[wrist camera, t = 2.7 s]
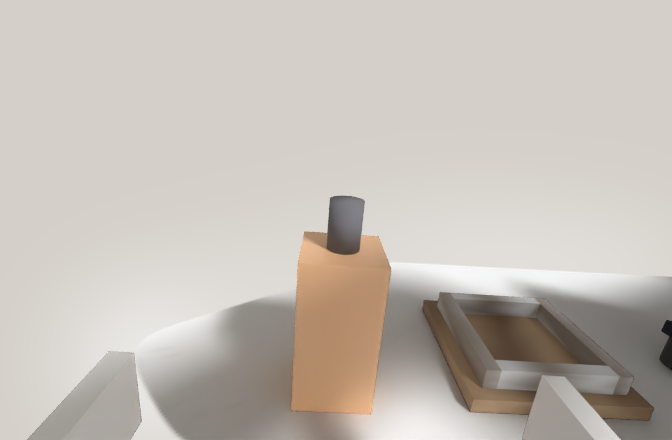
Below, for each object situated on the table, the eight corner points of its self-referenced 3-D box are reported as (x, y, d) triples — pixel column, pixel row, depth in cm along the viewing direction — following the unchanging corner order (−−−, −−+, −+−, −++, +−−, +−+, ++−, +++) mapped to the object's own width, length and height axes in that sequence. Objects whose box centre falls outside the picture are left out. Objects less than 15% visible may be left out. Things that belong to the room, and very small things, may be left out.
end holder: (541, 316, 34) (548, 293, 33) (648, 420, 23) (662, 389, 22) (422, 309, 33) (426, 286, 33) (470, 411, 22) (478, 380, 21)
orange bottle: (363, 358, 26) (383, 193, 22) (371, 414, 21) (398, 215, 17) (298, 355, 26) (306, 187, 22) (291, 410, 21) (300, 208, 17)
